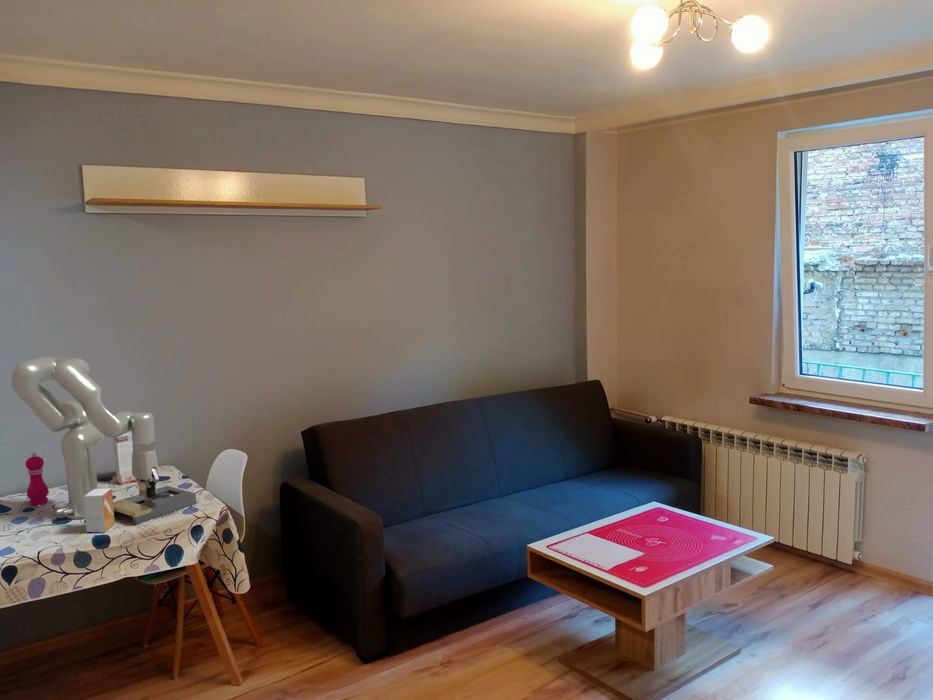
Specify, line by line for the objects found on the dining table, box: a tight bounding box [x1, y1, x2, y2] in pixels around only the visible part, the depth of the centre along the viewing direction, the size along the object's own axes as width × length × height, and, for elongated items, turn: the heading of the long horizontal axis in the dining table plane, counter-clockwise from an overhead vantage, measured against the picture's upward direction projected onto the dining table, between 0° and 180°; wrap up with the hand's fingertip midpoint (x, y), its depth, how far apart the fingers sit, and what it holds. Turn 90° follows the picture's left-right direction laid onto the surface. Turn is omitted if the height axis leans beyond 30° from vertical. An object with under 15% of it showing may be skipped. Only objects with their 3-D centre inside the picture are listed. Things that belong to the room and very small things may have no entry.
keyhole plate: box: [113, 485, 197, 526], centre depth 269 cm, size 24×18×4 cm
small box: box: [84, 487, 116, 533], centre depth 252 cm, size 8×6×13 cm
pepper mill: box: [25, 452, 50, 507], centre depth 278 cm, size 7×7×20 cm
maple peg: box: [138, 480, 157, 502], centre depth 267 cm, size 5×5×11 cm
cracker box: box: [112, 431, 138, 485], centre depth 306 cm, size 14×6×21 cm, turn 130°
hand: (147, 495), depth 267 cm, fingers closed on maple peg, 4 cm apart
